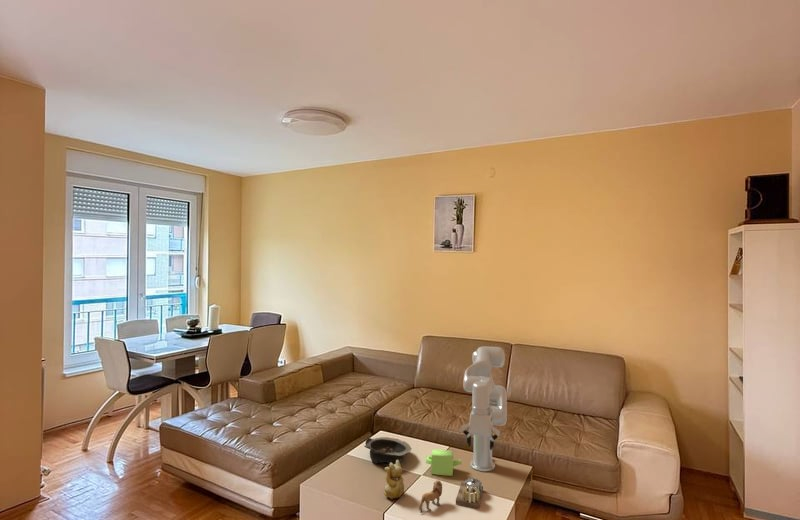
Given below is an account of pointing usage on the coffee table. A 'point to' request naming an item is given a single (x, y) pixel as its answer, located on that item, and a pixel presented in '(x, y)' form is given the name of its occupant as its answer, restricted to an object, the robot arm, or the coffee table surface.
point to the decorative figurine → (394, 481)
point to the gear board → (462, 501)
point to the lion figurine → (432, 495)
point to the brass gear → (471, 494)
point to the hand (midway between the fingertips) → (480, 446)
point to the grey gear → (473, 483)
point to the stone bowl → (387, 449)
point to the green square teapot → (442, 462)
